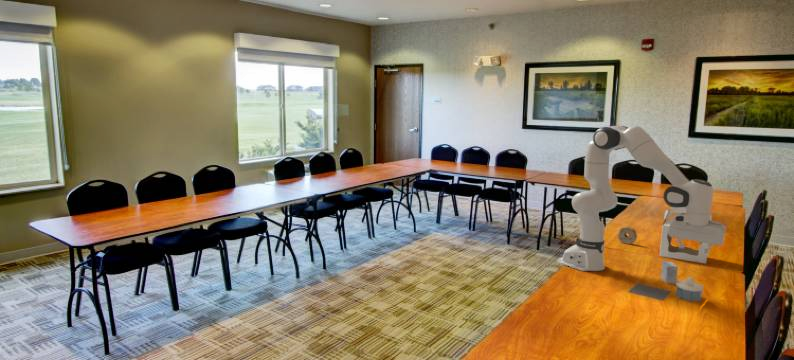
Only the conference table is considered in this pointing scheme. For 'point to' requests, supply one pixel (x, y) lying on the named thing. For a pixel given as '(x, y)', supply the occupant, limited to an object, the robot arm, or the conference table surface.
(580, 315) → the conference table surface
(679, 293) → the bowl
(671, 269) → the medicine box
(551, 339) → the conference table surface
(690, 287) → the lid
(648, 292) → the mat
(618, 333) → the conference table surface
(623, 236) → the stone disc
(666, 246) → the gable box
